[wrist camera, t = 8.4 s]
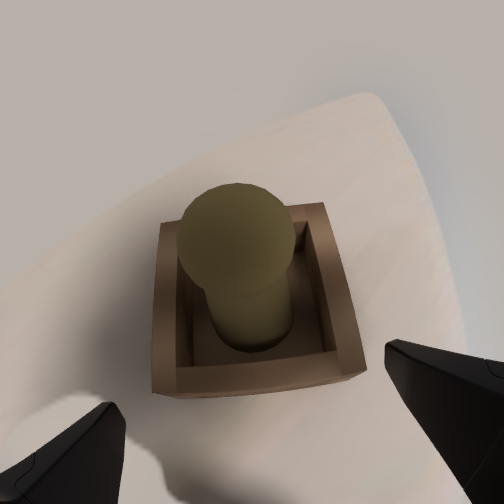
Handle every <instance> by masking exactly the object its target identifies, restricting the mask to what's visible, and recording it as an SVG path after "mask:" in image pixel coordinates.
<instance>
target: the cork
mask: <svg viewBox="0 0 504 504" xmlns="http://www.w3.org/2000/svg"><path fill="white" fill-rule="evenodd" d="M295 239H296V235H295V231H294V226H293V221H292V219H291V216H290V213H289V212H288V210H287V209H286V208H285V206H284V205H283V203H282V202H281V201H280V200H279V199H278V198H276V197H275V196H274V195H272V194H271V193H270V192H268V191H267V190H266V189H263V188H260V187H257V186H255V185H252V184H242V183H234V184H226V185H221V186H218V187H215V188H213V189H210V190H208V191H206V192H205V193H203V194H202V195H200V196H199V197H197V198H196V199H195V200H194V201H193V202H192V203H191V204H190V205H189V206H188V207H187V209H186V210H185V212H184V215H183V217H182V219H181V221H180V223H179V226H178V228H177V239H176V246H177V252H178V255H179V258H180V262H181V265H182V267H183V268H184V270H185V272H186V273H187V274H188V275H189V277H190V278H191V279H192V280H193V281H194V282H195V284H196V285H198V286H199V287H201V288H203V289H204V291H205V295H206V299H207V304H208V308H209V312H210V316H211V320H212V324H213V326H214V329H215V331H216V334H217V335H218V336H219V337H220V339H221V340H222V341H223V342H224V343H225V344H226V345H228V346H230V347H231V348H233V349H235V350H237V351H242V352H246V353H256V352H264V351H266V350H268V349H271V348H273V347H275V346H277V345H278V344H279V343H280V342H281V341H282V340H283V339H285V338H286V336H287V335H288V333H289V331H290V329H291V328H292V325H293V320H294V314H295V313H294V306H293V301H292V296H291V292H290V287H289V283H288V279H287V274H286V269H287V268H288V266H289V264H290V263H291V261H292V258H293V252H294V247H295Z"/></svg>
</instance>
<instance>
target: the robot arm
mask: <svg viewBox="0 0 504 504" xmlns="http://www.w3.org/2000/svg"><path fill="white" fill-rule="evenodd" d="M384 364H385V368H386V371H387V372H388V374H389V376H390V378H391V380H392V381H393V383H394V385H395V387H396V389H397V391H398V392H399V394H400V396H401V398H402V400H403V401H404V403H405V405H406V406H407V408H408V409H409V410H410V412H411V413H412V415H413V416H414V417H415V419H416V420H417V422H418V423H419V425H420V426H421V427H422V429H423V430H424V432H425V433H426V435H427V436H428V437H429V439H430V440H431V442H432V443H433V445H434V446H435V448H436V449H437V451H438V452H439V453H440V455H441V456H442V458H443V459H444V461H445V462H446V464H447V465H448V467H449V468H450V470H451V471H452V473H453V474H454V476H455V477H456V479H457V481H458V482H459V484H460V485H461V487H462V488H463V490H464V492H465V493H466V495H467V496H468V498H469V499H470V501H471V503H472V504H504V362H498V361H494V360H489V359H483V358H478V357H473V356H469V355H464V354H459V353H455V352H450V351H445V350H441V349H437V348H432V347H428V346H424V345H420V344H415V343H411V342H407V341H403V340H399V339H395V340H392V341H390V342H387V343H386V345H385V359H384ZM125 432H126V422H125V419H124V417H123V415H122V414H121V412H120V411H119V409H118V407H117V406H116V404H115V403H114V402H102V403H101V404H99V405H98V406H97V407H96V408H94V409H93V410H92V411H90V412H89V413H87V414H86V415H85V416H83V417H82V418H81V419H79V420H78V421H77V422H75V423H74V424H73V425H71V426H70V427H69V428H67V429H66V430H64V431H63V432H62V433H60V434H59V435H58V436H56V437H55V438H53V439H52V440H51V441H50V442H48V443H47V444H45V445H44V446H42V447H41V448H40V449H38V450H37V451H36V452H34V453H32V454H31V455H30V456H28V457H27V458H25V459H24V460H22V461H21V462H19V463H18V464H16V465H14V466H12V467H11V468H9V469H7V470H6V471H4V472H2V473H0V504H118V496H119V488H120V482H121V474H122V468H123V462H124V447H125Z"/></svg>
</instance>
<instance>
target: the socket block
mask: <svg viewBox="0 0 504 504" xmlns="http://www.w3.org/2000/svg"><path fill="white" fill-rule="evenodd" d="M285 208H286V209H287V210H288V212H289V213H290V216H291V219H292V221H293V226H294V231H295V235H296V239H295V247H294V252H293V258H292V261H291V263H290V264H289V266H288V268H287V269H286V274H287V279H288V283H289V287H290V292H291V296H292V301H293V306H294V313H295V314H294V320H293V325H292V328H291V329H290V331H289V333H288V335H287V336H286V338H285V339H283V340H282V341H281V342H280V343H279V344H278V345H277V346H275V347H273V348H271V349H268V350H266V351H264V352H256V353H246V352H242V351H237V350H235V349H233V348H231V347H230V346H228V345H226V344H225V343H224V342H223V341H222V340H221V339H220V337H219V336H218V335H217V334H216V331H215V329H214V326H213V324H212V320H211V316H210V312H209V308H208V304H207V299H206V295H205V291H204V289H203V288H201V287H199V286H198V285H196V284H195V282H194V281H193V280H192V279H191V278H190V277H189V275H188V274H187V273H186V272H185V270H184V268H183V267H182V265H181V262H180V258H179V255H178V252H177V246H176V239H177V228H178V226H179V223H180V221H181V220H177V221H171V222H165V223H161V226H160V234H159V243H158V253H157V264H156V275H155V289H154V305H153V327H152V393H156V394H160V395H165V396H169V397H174V398H212V397H230V396H244V395H255V394H265V393H273V392H281V391H289V390H296V389H302V388H309V387H315V386H320V385H326V384H331V383H336V382H341V381H346V380H349V379H351V378H353V377H355V376H357V375H359V374H361V373H363V372H365V371H366V370H367V367H366V362H365V357H364V352H363V347H362V342H361V337H360V333H359V328H358V324H357V320H356V315H355V311H354V307H353V303H352V299H351V295H350V291H349V287H348V284H347V280H346V276H345V272H344V269H343V265H342V262H341V258H340V255H339V251H338V248H337V244H336V241H335V238H334V234H333V231H332V228H331V225H330V222H329V218H328V215H327V212H326V209H325V206H324V203H323V202H321V203H311V204H301V205H292V206H285Z"/></svg>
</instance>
